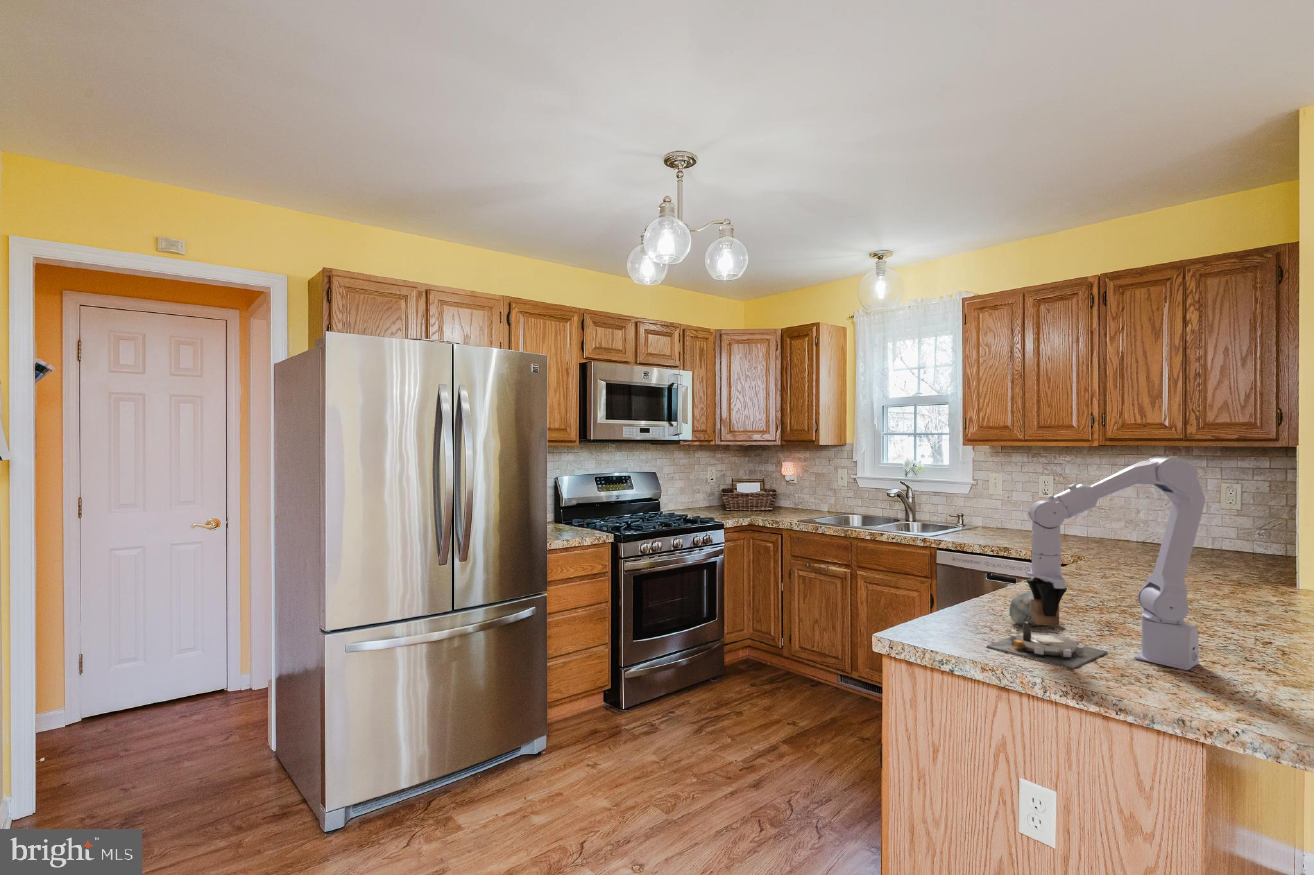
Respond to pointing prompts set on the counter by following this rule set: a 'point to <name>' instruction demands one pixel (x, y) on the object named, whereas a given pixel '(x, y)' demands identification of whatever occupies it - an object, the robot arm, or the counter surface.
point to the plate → (1066, 662)
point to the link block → (1042, 614)
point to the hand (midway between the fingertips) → (1046, 613)
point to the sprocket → (1046, 643)
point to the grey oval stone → (1022, 608)
